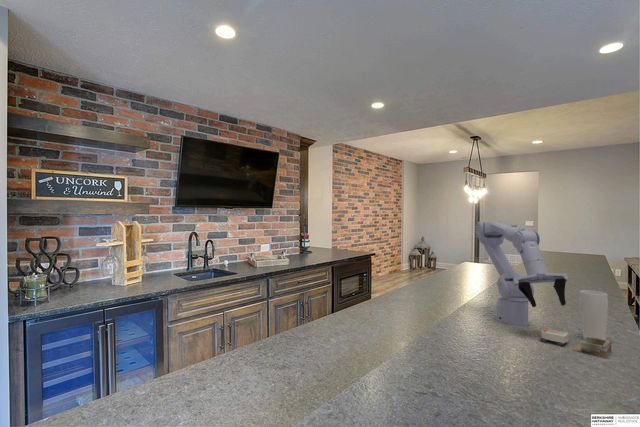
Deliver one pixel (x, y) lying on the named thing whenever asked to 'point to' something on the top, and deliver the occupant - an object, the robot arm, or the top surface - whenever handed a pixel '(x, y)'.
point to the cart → (554, 336)
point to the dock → (594, 347)
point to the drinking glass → (593, 313)
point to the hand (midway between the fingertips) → (549, 305)
